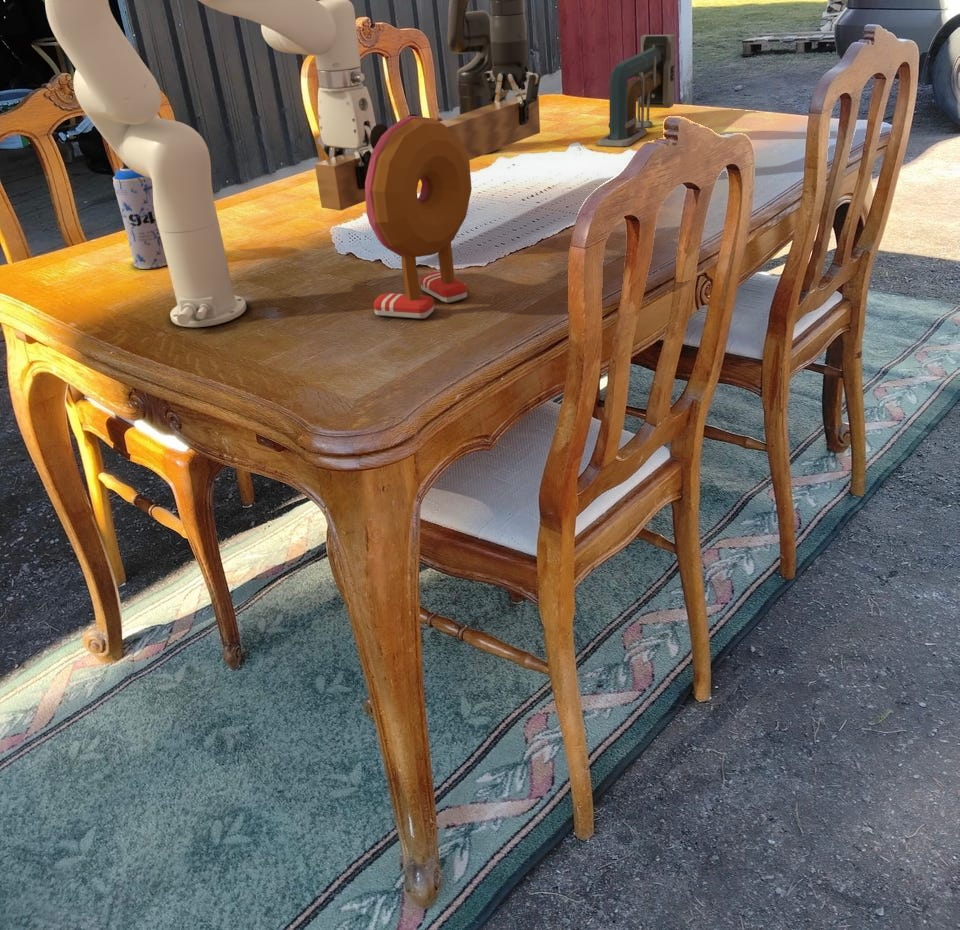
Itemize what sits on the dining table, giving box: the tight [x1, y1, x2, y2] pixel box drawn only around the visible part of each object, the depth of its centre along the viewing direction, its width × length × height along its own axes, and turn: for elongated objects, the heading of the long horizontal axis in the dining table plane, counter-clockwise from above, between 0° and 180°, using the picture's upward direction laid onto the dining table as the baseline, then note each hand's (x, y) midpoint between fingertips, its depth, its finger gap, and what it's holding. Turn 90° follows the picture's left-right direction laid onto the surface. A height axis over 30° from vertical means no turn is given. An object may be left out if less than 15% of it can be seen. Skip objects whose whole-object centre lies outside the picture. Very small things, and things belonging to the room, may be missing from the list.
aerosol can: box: [112, 160, 168, 270], centre depth 186 cm, size 8×8×20 cm
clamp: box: [596, 34, 676, 147], centre depth 254 cm, size 35×9×21 cm, turn 151°
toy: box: [365, 113, 473, 319], centre depth 153 cm, size 21×10×30 cm, turn 141°
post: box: [314, 95, 541, 211], centre depth 191 cm, size 63×5×8 cm, turn 143°
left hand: (353, 185), depth 175 cm, fingers closed on post, 4 cm apart
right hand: (513, 123), depth 208 cm, fingers closed on post, 5 cm apart
